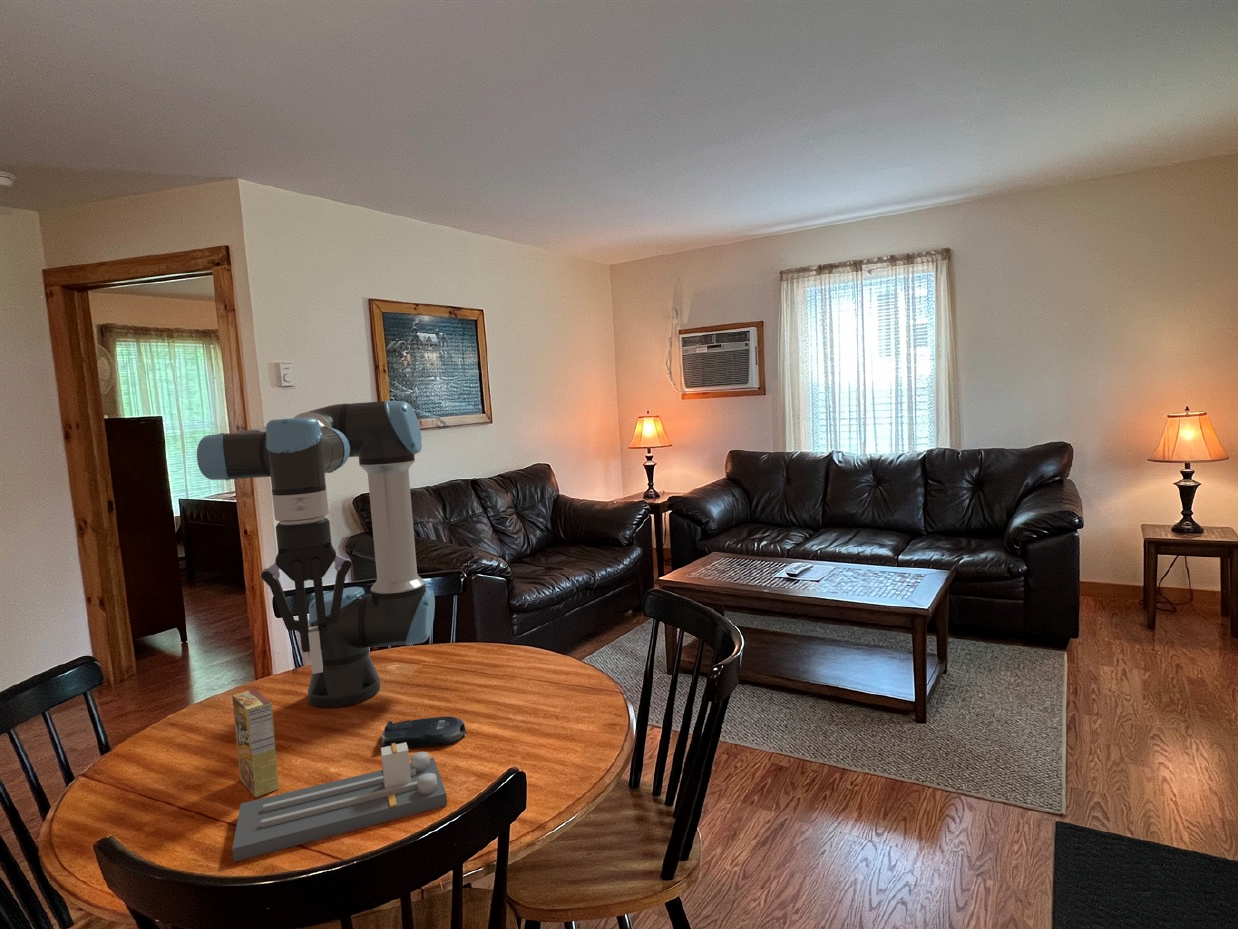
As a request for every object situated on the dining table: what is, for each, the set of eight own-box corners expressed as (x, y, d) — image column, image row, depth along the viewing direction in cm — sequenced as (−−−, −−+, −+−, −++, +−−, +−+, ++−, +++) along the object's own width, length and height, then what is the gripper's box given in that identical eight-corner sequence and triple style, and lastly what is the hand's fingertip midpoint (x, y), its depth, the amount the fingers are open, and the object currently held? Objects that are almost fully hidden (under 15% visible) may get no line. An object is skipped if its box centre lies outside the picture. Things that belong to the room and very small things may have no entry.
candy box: (239, 780, 126) (229, 695, 124) (264, 771, 128) (256, 687, 127) (255, 799, 119) (245, 709, 118) (281, 788, 122) (272, 701, 121)
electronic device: (383, 764, 132) (464, 743, 134) (377, 734, 132) (458, 713, 134) (392, 747, 141) (469, 727, 143) (387, 719, 141) (463, 700, 143)
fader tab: (383, 783, 118) (380, 746, 117) (409, 776, 119) (406, 740, 119) (385, 792, 115) (382, 754, 114) (411, 785, 116) (408, 748, 116)
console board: (242, 815, 114) (239, 791, 114) (434, 768, 126) (432, 746, 125) (233, 862, 102) (230, 835, 102) (447, 805, 114) (445, 781, 114)
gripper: (252, 528, 103) (269, 687, 106) (349, 518, 108) (363, 669, 111) (256, 521, 110) (272, 670, 112) (347, 511, 115) (360, 654, 117)
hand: (317, 670), depth 112 cm, fingers closed
